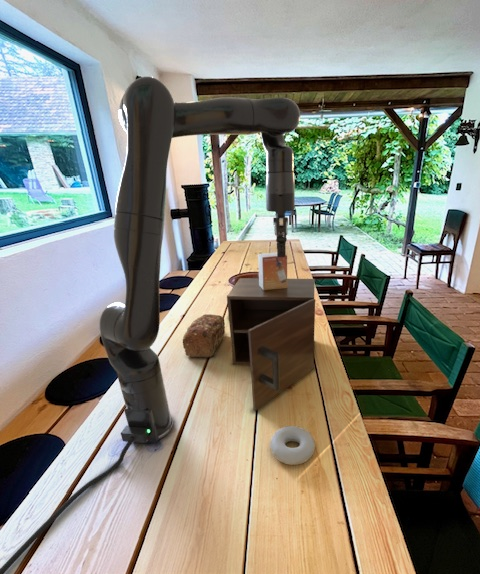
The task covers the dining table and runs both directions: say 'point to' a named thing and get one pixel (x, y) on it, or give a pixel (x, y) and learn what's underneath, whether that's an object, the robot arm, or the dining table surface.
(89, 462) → the dining table surface
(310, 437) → the donut
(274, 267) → the small box
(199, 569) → the dining table surface
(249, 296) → the cupboard
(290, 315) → the cupboard door
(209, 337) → the bread
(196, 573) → the dining table surface
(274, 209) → the robot arm
